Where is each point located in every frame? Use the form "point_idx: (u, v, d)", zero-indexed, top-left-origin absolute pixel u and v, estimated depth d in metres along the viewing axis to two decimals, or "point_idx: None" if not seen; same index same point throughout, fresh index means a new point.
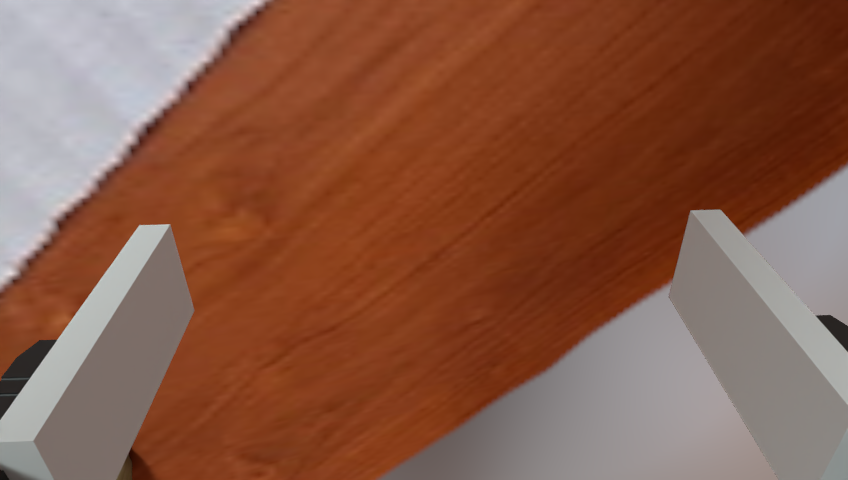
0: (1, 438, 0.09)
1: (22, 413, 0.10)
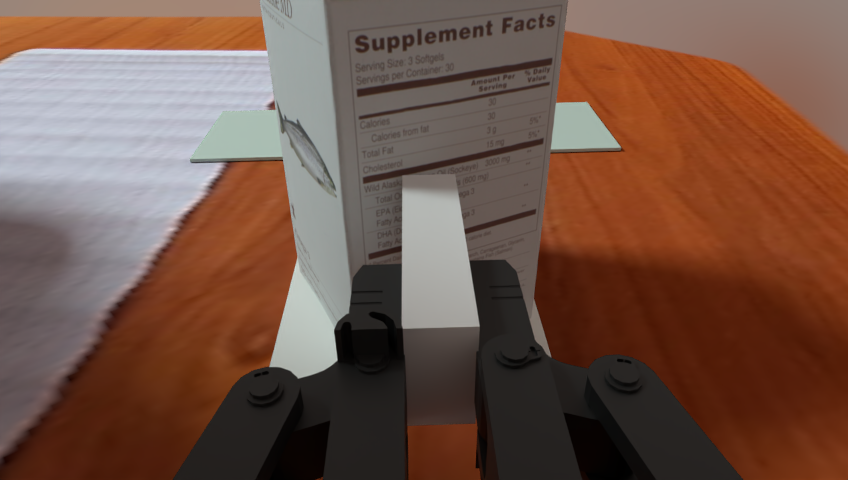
0: (413, 325, 0.11)
1: (416, 309, 0.12)
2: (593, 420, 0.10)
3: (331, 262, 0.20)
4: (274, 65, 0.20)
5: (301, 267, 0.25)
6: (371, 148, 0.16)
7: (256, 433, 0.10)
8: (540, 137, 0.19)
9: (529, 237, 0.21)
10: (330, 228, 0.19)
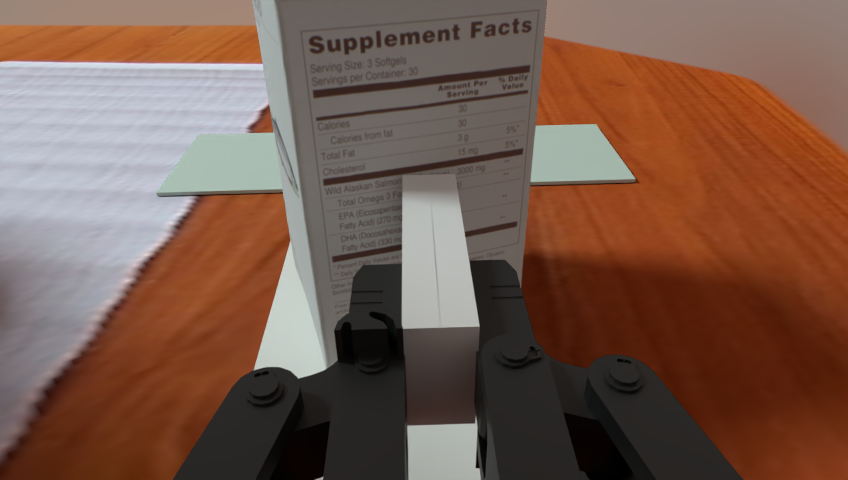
0: (413, 326, 0.12)
1: (416, 309, 0.12)
2: (594, 421, 0.10)
3: (303, 262, 0.20)
4: None
5: (295, 264, 0.25)
6: (330, 150, 0.16)
7: (256, 433, 0.10)
8: (519, 147, 0.18)
9: (510, 250, 0.20)
10: (299, 228, 0.19)
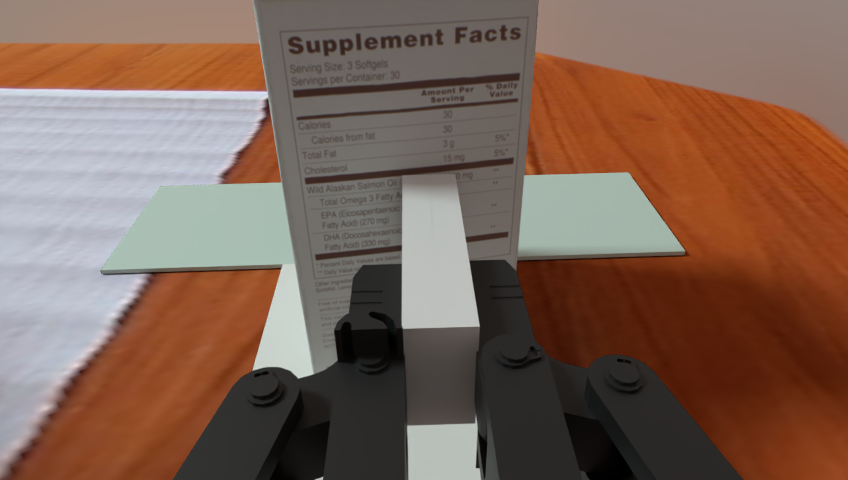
0: (413, 326, 0.12)
1: (415, 309, 0.12)
2: (593, 420, 0.10)
3: None
4: None
5: None
6: (311, 149, 0.16)
7: (256, 433, 0.10)
8: (509, 156, 0.18)
9: None
10: None
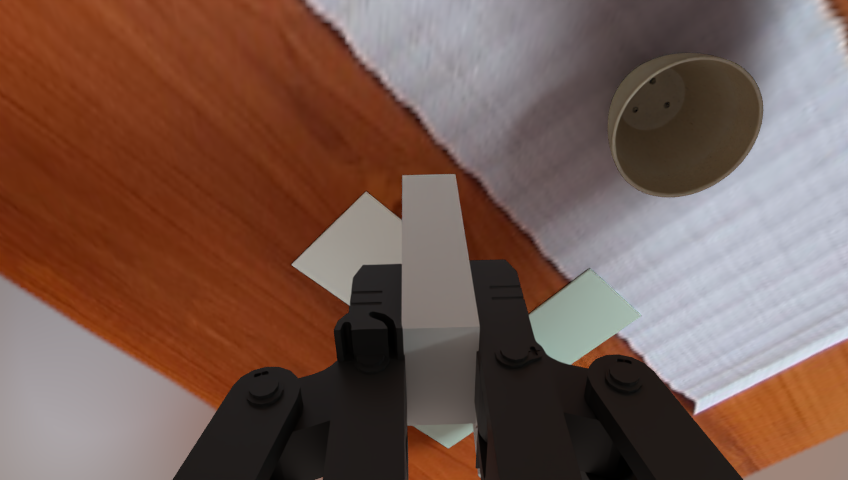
0: (413, 326, 0.12)
1: (415, 309, 0.12)
2: (594, 421, 0.10)
3: None
4: None
5: None
6: None
7: (256, 433, 0.10)
8: (477, 428, 0.55)
9: None
10: None
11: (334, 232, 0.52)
